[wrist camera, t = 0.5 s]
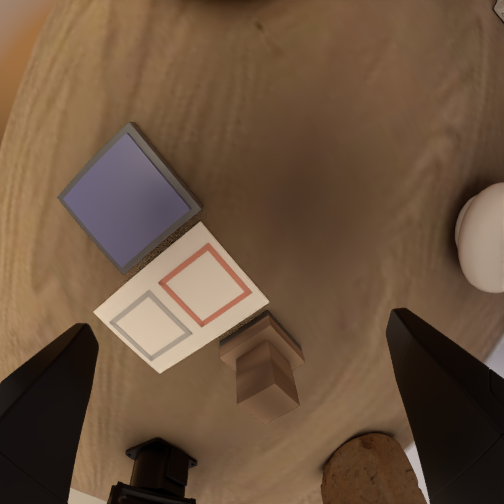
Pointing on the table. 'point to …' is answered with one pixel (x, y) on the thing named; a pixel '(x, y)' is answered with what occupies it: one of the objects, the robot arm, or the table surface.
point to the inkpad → (128, 198)
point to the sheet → (181, 300)
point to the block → (370, 474)
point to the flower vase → (483, 239)
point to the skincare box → (500, 9)
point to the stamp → (263, 367)
